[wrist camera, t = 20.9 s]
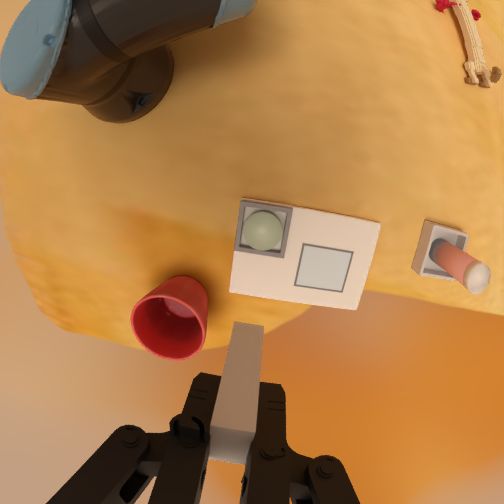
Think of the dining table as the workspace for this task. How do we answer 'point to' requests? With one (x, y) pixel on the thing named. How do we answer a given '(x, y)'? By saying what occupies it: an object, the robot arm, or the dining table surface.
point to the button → (262, 230)
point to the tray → (428, 235)
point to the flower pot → (172, 319)
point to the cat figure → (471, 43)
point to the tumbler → (460, 265)
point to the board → (306, 257)
